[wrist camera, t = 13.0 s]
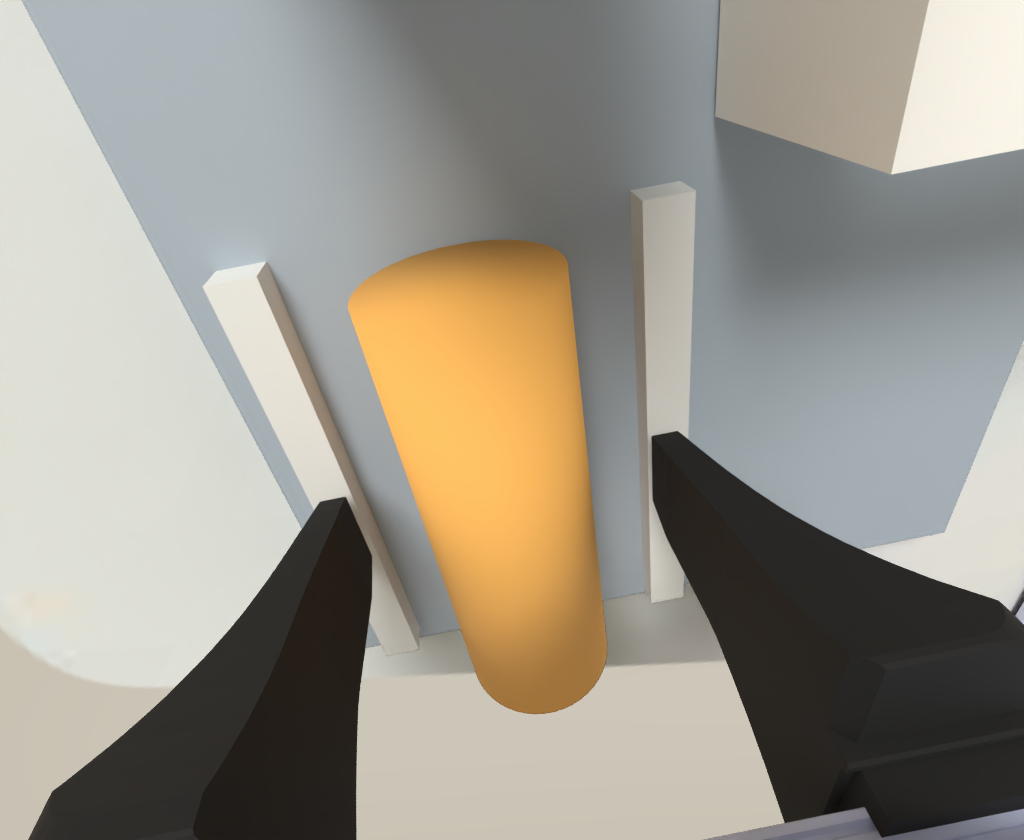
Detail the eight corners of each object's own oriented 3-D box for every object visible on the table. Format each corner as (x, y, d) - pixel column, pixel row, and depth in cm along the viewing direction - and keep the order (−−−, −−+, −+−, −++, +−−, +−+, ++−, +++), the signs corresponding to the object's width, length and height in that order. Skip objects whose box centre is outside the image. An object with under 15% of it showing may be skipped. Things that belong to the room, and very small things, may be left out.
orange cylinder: (586, 578, 18) (625, 694, 15) (467, 606, 18) (481, 729, 15) (542, 225, 11) (595, 299, 8) (355, 265, 11) (337, 355, 8)
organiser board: (918, 506, 19) (963, 550, 18) (368, 616, 19) (362, 671, 18) (1178, -218, 10) (1332, -266, 8) (61, -3, 9) (-16, -9, 8)
